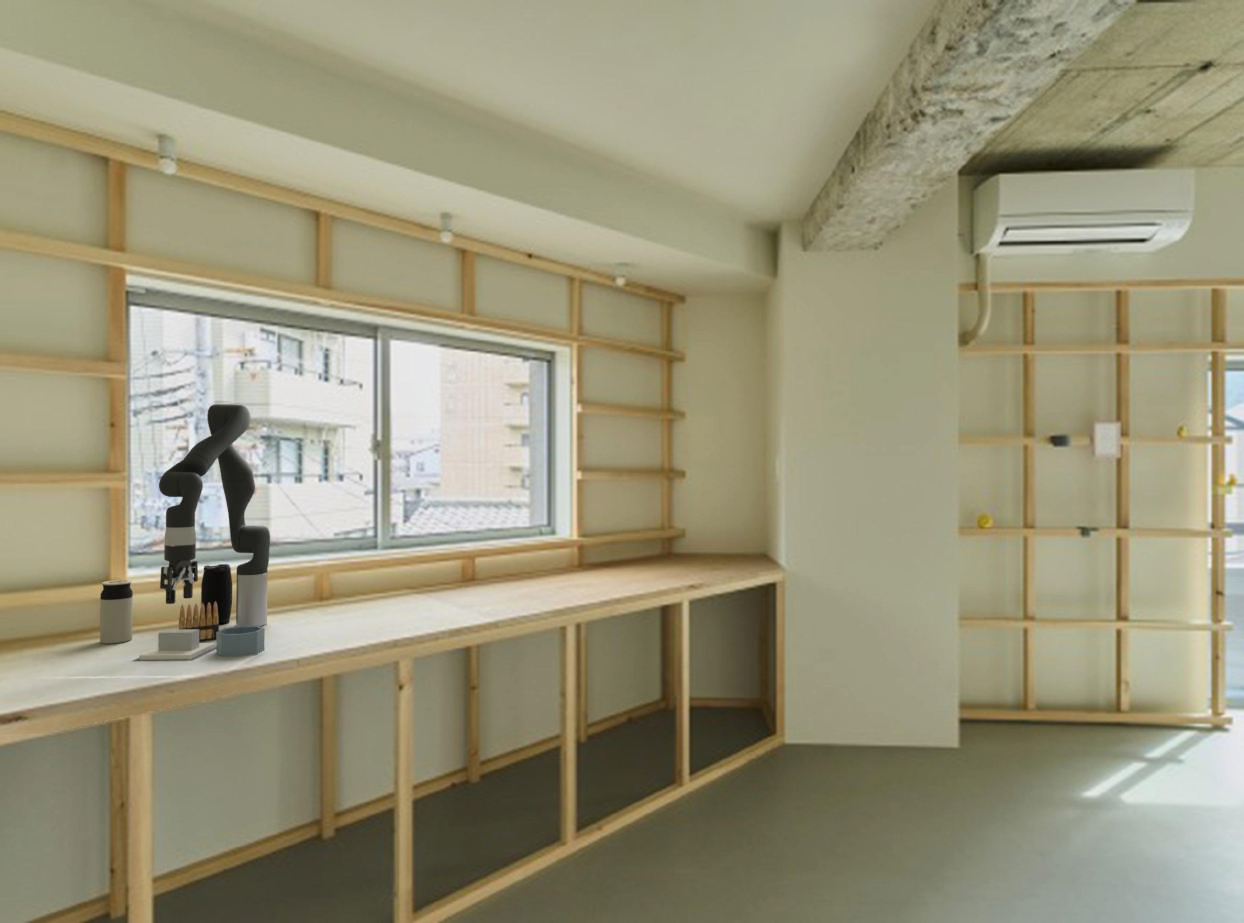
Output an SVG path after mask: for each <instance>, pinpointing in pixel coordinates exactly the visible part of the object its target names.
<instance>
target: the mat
mask: <svg viewBox="0 0 1244 923" xmlns="http://www.w3.org/2000/svg"><path fill="white" fill-rule="evenodd" d="M213 651H216V647H215V648H213V649H211V650H209V651H207V652H205V653H203V654H200V655H198V656H196V657H194V658H192V659H169V660H139V657H137V658H135V659H133V660H132V662H182V661H183V662H188V661H189V662H191V661H194V660H196V659H200V658H201V657H203V656H205V655H207V654H209V653H211V652H213Z"/></svg>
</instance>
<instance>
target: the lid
mask: <svg viewBox="0 0 1244 923" xmlns="http://www.w3.org/2000/svg"><path fill="white" fill-rule="evenodd" d="M157 639H158V640H157V642H158V643H157V644H158V645H157V647H156V648H153V649H152V650H148V651H146V652H144V653H141V654H139V656H138V658H139V660H169V659H192V658H194V657H196V656H198V655H200V654H203V653H205V652H207V651H209V650H211V649H213V648H215V647H216V642H199V629H179V628H178V629H165V630H163V631H159V632H158V636H157Z"/></svg>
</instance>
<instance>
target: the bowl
mask: <svg viewBox="0 0 1244 923" xmlns="http://www.w3.org/2000/svg"><path fill="white" fill-rule="evenodd" d="M215 641H216V642H215V643H216V650H215V652H216V653H215V654H217V655H219V656H220V657H242V656H248V655H249V656H250V655H253V654H254V656H257V655H259V654H261V653H262V651H263V652H264V651H265V627H262V626H239V627H237V626H233V627H225V628H223V629H219V631H218V632H216V640H215ZM260 652H261V653H260ZM258 653H259V654H258Z"/></svg>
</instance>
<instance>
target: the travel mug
mask: <svg viewBox="0 0 1244 923" xmlns="http://www.w3.org/2000/svg"><path fill="white" fill-rule="evenodd" d="M132 581H133V580H130V579H116V580H114V579H113V580H107V581H103V582H102V583H101V585H102V588H103V589H102V591H101V593H100V598H99V599H100V600H99V601H100V603H99V604H100V608H99V611H100V613H99V614H100V615H99V619H100V620H99V626H100V628H99V642H100V643H101V644H104V645H115V644H123V643H127V642H129V641H131V640H132V639H133V605H134V604H133V602H134V601H133V596H134V595H133V593H134V592H133V590H132V588H131V583H132Z"/></svg>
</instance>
